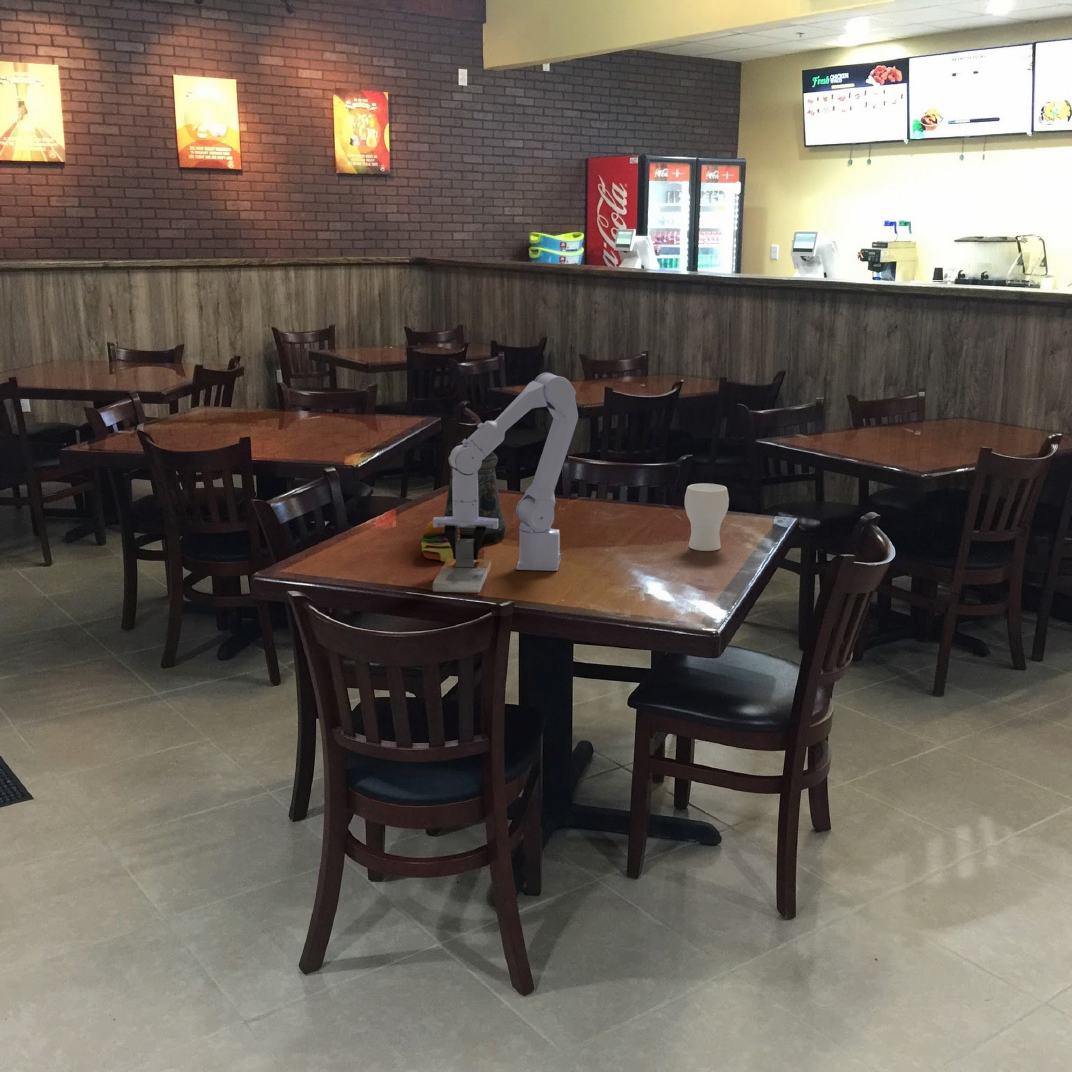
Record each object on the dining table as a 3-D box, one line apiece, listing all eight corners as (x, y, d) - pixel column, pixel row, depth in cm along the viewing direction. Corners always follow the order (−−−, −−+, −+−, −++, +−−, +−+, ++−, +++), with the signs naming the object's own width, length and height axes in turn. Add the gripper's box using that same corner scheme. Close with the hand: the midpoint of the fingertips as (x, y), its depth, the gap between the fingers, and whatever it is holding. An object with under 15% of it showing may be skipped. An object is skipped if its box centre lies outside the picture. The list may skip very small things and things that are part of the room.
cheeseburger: (425, 564, 261) (422, 521, 261) (418, 563, 272) (415, 521, 271) (468, 560, 264) (465, 517, 264) (459, 559, 274) (456, 518, 274)
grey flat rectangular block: (491, 566, 260) (491, 559, 259) (479, 592, 240) (479, 584, 240) (448, 565, 260) (447, 558, 260) (432, 591, 241) (432, 583, 241)
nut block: (476, 566, 256) (475, 539, 255) (473, 571, 253) (473, 543, 251) (458, 566, 257) (458, 538, 255) (455, 571, 253) (455, 543, 251)
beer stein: (477, 549, 275) (476, 447, 269) (418, 536, 286) (416, 439, 280) (519, 535, 288) (519, 438, 281) (461, 524, 299) (460, 430, 293)
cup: (725, 554, 271) (728, 492, 267) (681, 551, 273) (683, 490, 269) (727, 543, 281) (730, 483, 277) (684, 540, 283) (686, 482, 280)
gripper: (430, 502, 248) (431, 562, 251) (495, 504, 247) (495, 564, 250) (435, 495, 255) (436, 554, 258) (499, 497, 253) (499, 555, 257)
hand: (466, 558), depth 254 cm, fingers closed on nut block, 4 cm apart
